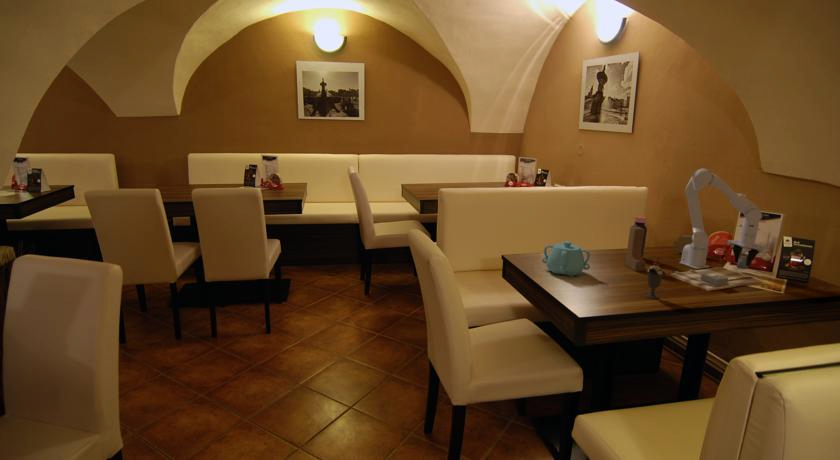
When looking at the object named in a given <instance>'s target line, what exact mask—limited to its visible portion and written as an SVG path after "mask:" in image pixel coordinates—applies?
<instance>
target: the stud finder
mask: <svg viewBox="0 0 840 460" xmlns="http://www.w3.org/2000/svg"><path fill="white" fill-rule="evenodd" d="M701 281H704V282H706V283H709V284H712V285H714V286H715V287H718V286H725V285H727V282H728V278H726V277H724V276H721V275H718V274H715V273H705V274H702V275H701Z"/></svg>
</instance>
